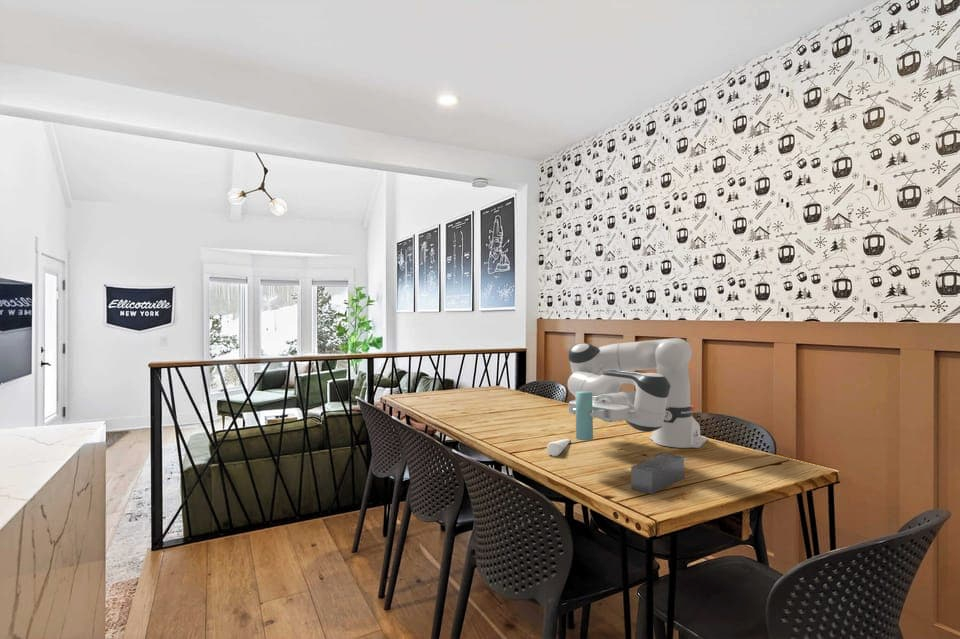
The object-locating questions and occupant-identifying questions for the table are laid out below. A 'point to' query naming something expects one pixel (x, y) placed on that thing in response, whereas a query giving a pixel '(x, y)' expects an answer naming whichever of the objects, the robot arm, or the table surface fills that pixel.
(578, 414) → the teal post
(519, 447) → the table surface
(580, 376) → the robot arm
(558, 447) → the unicorn horn
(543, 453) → the table surface
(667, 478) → the gray block
